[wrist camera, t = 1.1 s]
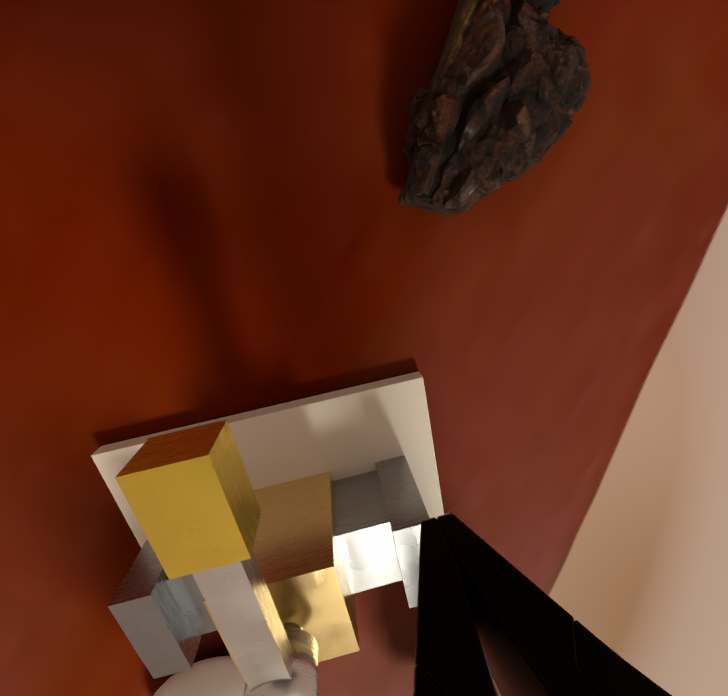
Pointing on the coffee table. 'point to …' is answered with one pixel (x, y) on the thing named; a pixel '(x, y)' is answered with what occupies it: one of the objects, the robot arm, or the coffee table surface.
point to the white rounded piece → (205, 680)
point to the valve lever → (218, 550)
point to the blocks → (291, 565)
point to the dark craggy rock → (491, 103)
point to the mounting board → (317, 440)
